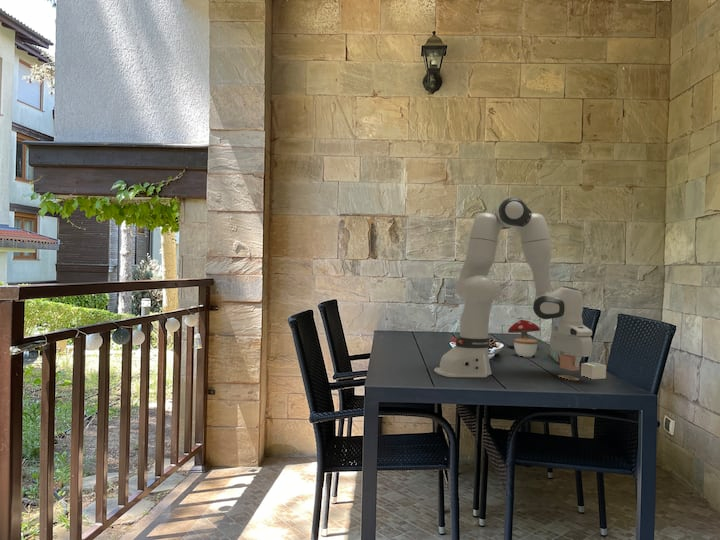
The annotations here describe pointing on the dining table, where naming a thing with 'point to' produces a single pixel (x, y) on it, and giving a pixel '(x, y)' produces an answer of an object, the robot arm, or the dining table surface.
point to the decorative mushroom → (523, 328)
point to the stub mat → (568, 377)
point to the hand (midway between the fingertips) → (569, 364)
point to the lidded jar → (525, 347)
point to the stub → (568, 362)
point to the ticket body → (593, 370)
